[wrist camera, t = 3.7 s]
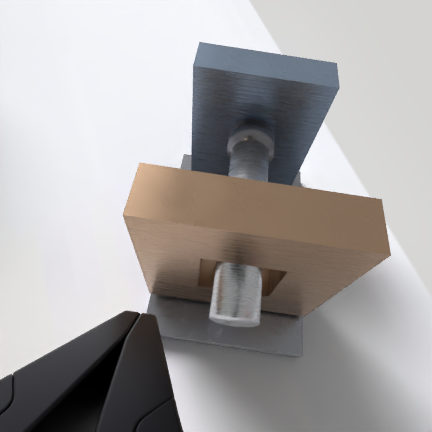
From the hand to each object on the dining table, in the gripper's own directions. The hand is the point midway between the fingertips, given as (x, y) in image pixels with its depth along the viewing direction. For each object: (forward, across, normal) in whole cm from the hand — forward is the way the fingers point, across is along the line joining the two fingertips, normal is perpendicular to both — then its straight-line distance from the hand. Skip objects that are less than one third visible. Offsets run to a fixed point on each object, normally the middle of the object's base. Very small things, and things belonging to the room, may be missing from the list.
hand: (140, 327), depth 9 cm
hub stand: (+15, -3, +3) cm, 16 cm away
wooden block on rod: (+12, -3, +4) cm, 13 cm away
